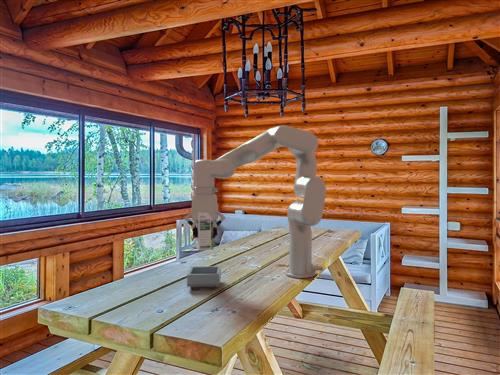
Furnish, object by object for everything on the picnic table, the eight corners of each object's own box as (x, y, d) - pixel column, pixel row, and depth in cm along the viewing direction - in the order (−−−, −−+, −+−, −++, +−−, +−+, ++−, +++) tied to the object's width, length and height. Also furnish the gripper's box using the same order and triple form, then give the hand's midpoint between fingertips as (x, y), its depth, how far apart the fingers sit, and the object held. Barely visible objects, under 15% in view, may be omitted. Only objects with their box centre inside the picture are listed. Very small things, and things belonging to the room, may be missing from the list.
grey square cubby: (220, 280, 153) (220, 266, 153) (219, 290, 141) (219, 274, 141) (191, 281, 153) (191, 266, 152) (187, 290, 141) (187, 274, 140)
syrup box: (198, 250, 143) (198, 212, 142) (196, 247, 148) (196, 210, 148) (213, 249, 144) (213, 212, 143) (211, 246, 150) (210, 210, 149)
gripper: (227, 190, 149) (227, 235, 150) (183, 191, 149) (184, 236, 149) (226, 192, 142) (227, 239, 142) (180, 192, 141) (181, 239, 142)
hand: (205, 237), depth 146 cm, fingers closed on syrup box, 6 cm apart
